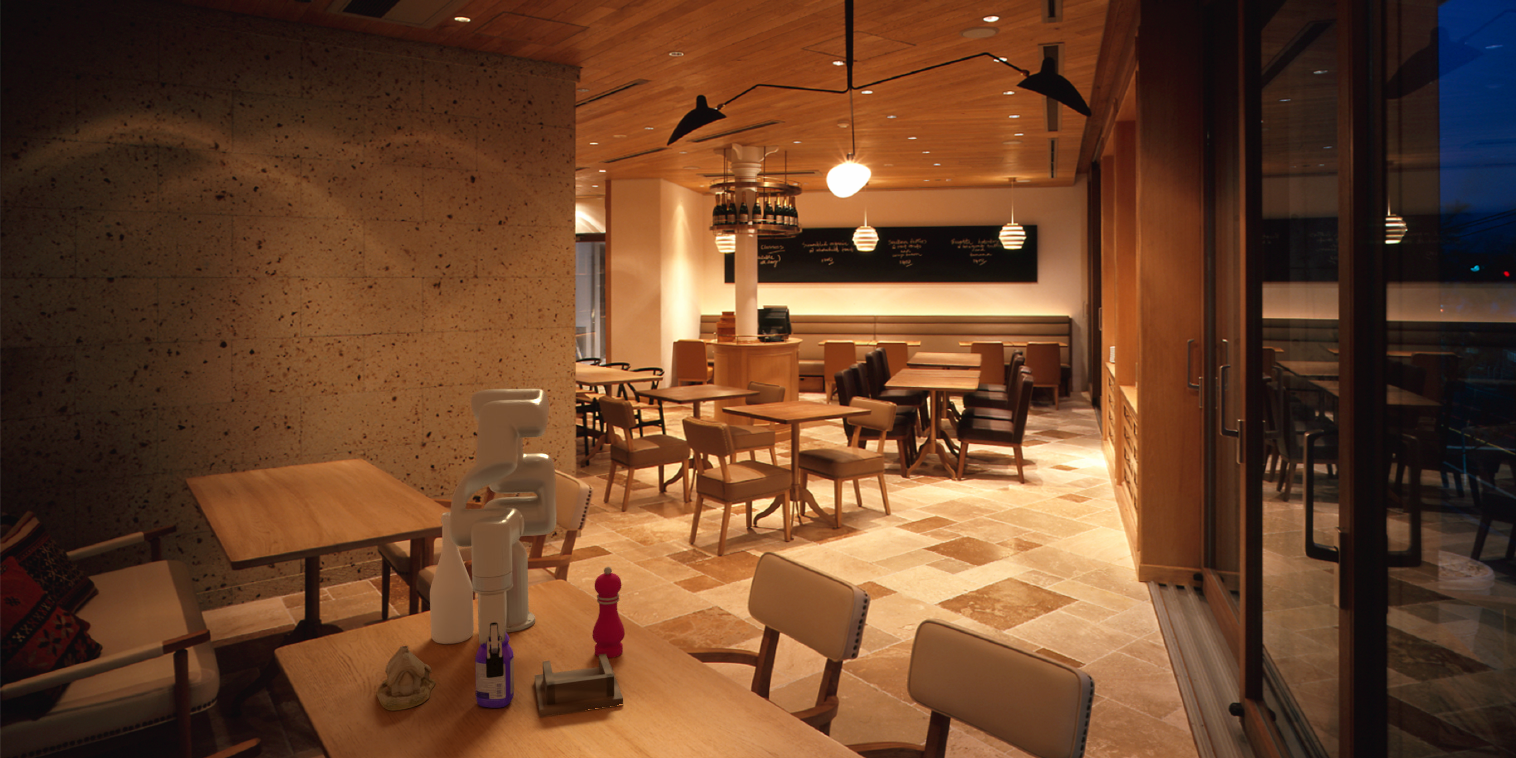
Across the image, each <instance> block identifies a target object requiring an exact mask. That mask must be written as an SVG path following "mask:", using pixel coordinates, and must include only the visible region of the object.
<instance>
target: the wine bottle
mask: <svg viewBox="0 0 1516 758" xmlns="http://www.w3.org/2000/svg"><path fill="white" fill-rule="evenodd" d="M450 515H451V511H446V512H443V513H441V516H440V523H441V524H442V527H441V531H442V532H441V533H442V534H441V535H442V538H441V539H442V540H441V541H442V543H441V544H442V548H441V553H440V556H439V560H438V563H437V566H436V569H435V572H434V576H433V578H432V580H431V581H432V582H431V585H430V589H429V603H430V604H429V606H430V607H429V608H430V610H429V611H430V612H429V613H430V635H431V639H432V641H434V642H435V643H437V644H441V645H451V644H458V643H462V642H465V641H467V640H469V639H470V638H471V637H473V634H474V630H475V627H474V598H473V597H474V594H473V593H474V591H473V584H472V580H471V578H470V576H469V573H468V571H467V568H466V566H465V563H464V561H463V558H462V555H461V552H460V550H459V549H460V548H459V546H457V545H456V544H454V543H453V541H452V539H451V536H450Z"/></svg>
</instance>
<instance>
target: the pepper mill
mask: <svg viewBox="0 0 1516 758" xmlns="http://www.w3.org/2000/svg"><path fill="white" fill-rule="evenodd" d="M612 571H613V570H612V567H610V566H606V567H605V568H604V569H603V573H601V574H599V575H598V576H597V577H596V579H595V581H594V590H595V592H596V593H597V595H596V598H597V599H596V602H597V603H598V606H599V611H598V616H597V619H596V621H595V624H594V626H593V629H592V639H593V641H594V642H595V644H594V655H595V656H597V657H598V658H599V655H600V654H606V655H607V658H608V659H611V658H612V659H613V658H616V657H619V656H621V655H622V654H623V652H624V645H623V643H622V641H623V640H624V638H625V635H626V633H625V628H624V624H623V622H622V619H621V617H620V614H619V612H618V602H619V601H620V593H619V592H620V591H621V590H622V580H621V577H620V576H619V575H618V574H616V573H614V572H612Z"/></svg>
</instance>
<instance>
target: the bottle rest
mask: <svg viewBox="0 0 1516 758" xmlns="http://www.w3.org/2000/svg"><path fill="white" fill-rule="evenodd" d="M614 672H615V671H614V669H613V667H612V665H611V663H610V661H609V658H607V655H606V654H600V655H599V657H598V666H597V667H596V666H595V667H588V668H582V669H581V668H580V669H574V670H565V671H556V672H553V668H552V663H551V660H545V661H542V674H534V687H535V693H536V700H537V707H538V713H539V718H544V717H552V716H558V714H559V715H566V714H573V713H579V712H580V713H581V712H586V711H585V710H587V711H589V710H588V709H594V710H596V709H595V708H601V709H603V708H602V707H608V708H611V707H610V706H615V707H618V706H617V705H619V704H623V705H624V697H623V694H622V692H621V688H620V686H619V683H618V681H617V680H618V679H617V678H616V675H615V673H614Z"/></svg>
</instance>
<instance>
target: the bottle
mask: <svg viewBox="0 0 1516 758" xmlns="http://www.w3.org/2000/svg"><path fill="white" fill-rule="evenodd" d="M490 630H491V624H490ZM497 630H498V624H497ZM498 640H500V638H498ZM490 641H491V638H490V639H489V642H490ZM509 641H510V636H509V635H508V632H506V634H505V640H504V641H503V642H502V655H503V666H504V675H503V676H501V677H493V678H487V677H486V657H487V641H486V643H483V645H481V644H480V643H479V645H480V646H479V647H478V649H477V652H476V654H475V658H474V659H475V699H476V702H477V704H478V705H479V706H480V707H484V708H494V709H498V708H505V707H506V706H508V705H509V704H510V703H511V702H512V700H513V699H514V695H515V656H514V655H515V654H514V650H513V649H512V647H511V645H510V644H509ZM498 647H499V644H498ZM490 648H491V645H490Z"/></svg>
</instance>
